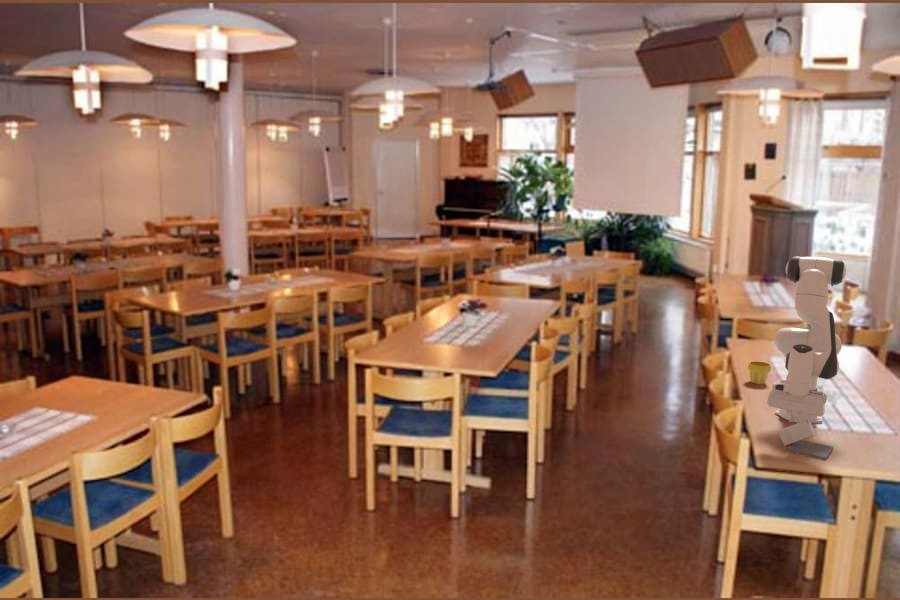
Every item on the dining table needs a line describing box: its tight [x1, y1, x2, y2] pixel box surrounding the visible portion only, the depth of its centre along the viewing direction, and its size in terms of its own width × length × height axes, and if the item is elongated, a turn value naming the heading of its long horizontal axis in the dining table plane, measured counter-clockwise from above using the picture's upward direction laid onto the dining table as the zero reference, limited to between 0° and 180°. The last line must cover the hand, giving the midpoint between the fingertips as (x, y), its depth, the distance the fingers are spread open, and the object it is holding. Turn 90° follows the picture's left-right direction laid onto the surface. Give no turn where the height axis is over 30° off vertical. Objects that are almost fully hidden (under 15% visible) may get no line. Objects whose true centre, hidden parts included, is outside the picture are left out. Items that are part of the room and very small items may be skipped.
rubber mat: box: [785, 439, 834, 461], centre depth 299 cm, size 14×14×1 cm
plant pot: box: [747, 360, 772, 385], centre depth 386 cm, size 10×10×10 cm
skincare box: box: [777, 419, 817, 447], centre depth 301 cm, size 6×4×12 cm
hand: (793, 422), depth 301 cm, fingers closed
